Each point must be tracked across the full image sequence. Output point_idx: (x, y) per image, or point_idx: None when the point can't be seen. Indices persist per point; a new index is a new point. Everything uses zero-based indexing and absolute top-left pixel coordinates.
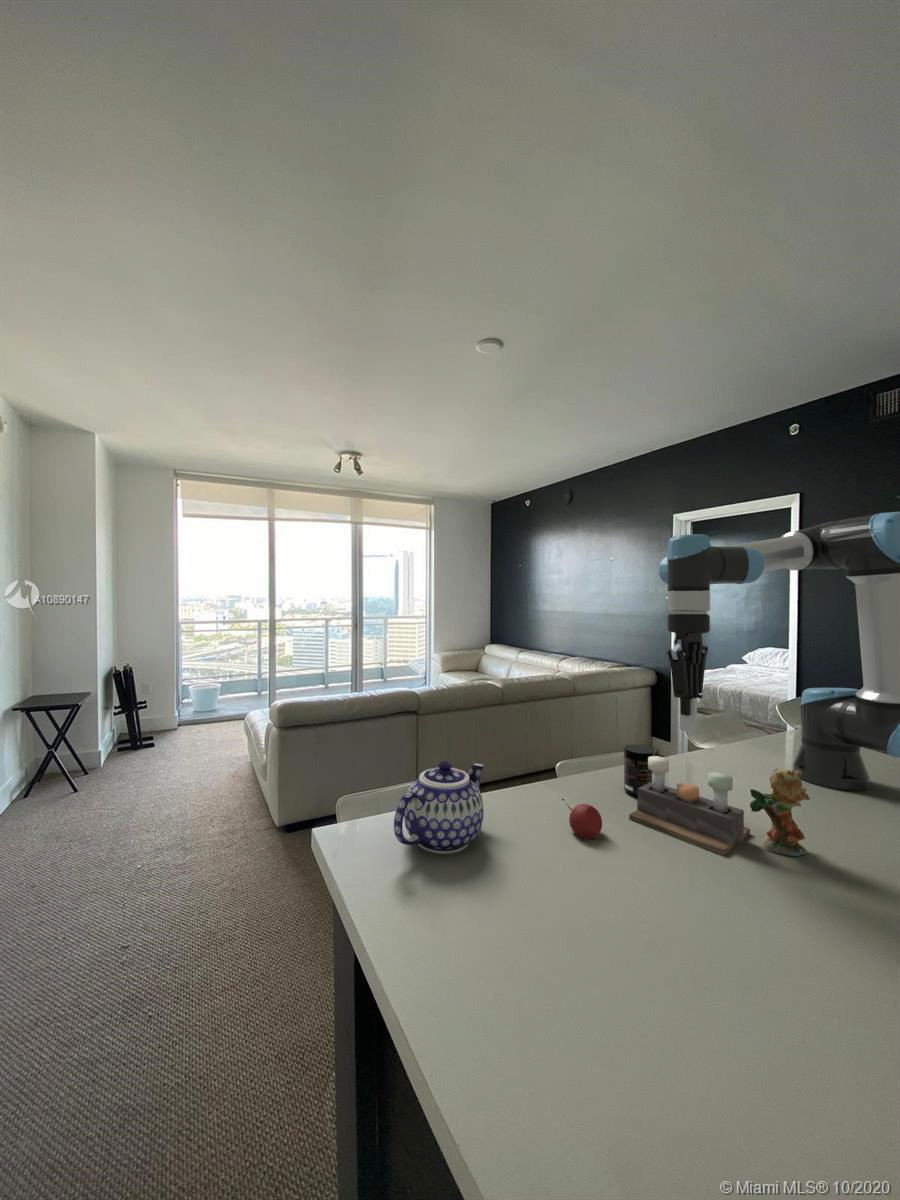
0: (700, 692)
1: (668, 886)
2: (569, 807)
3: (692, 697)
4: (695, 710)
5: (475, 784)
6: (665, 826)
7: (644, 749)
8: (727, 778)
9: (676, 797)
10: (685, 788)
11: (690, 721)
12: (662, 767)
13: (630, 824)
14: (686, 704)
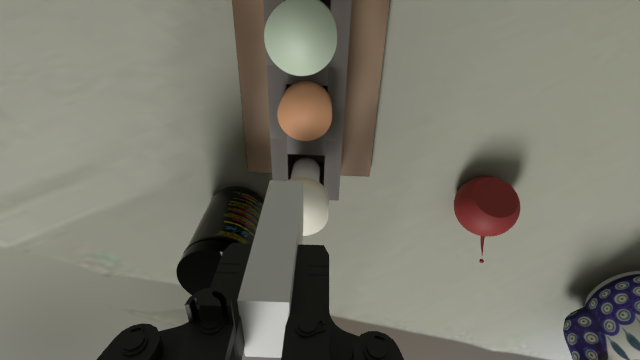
0: (153, 332)
1: (589, 8)
2: (483, 242)
3: (307, 319)
4: (273, 247)
5: (597, 356)
6: (370, 108)
7: (207, 269)
8: (305, 12)
9: None
10: (319, 116)
11: (300, 222)
12: (319, 190)
13: (387, 160)
14: (328, 298)
